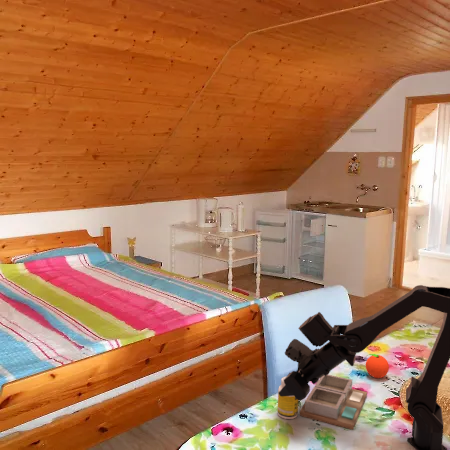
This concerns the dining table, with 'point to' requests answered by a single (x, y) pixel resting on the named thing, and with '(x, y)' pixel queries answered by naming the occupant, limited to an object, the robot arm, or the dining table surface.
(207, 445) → the dining table surface
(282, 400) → the supplement bottle
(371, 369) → the clementine
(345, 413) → the socket board
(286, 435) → the dining table surface
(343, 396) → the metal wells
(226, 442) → the dining table surface
